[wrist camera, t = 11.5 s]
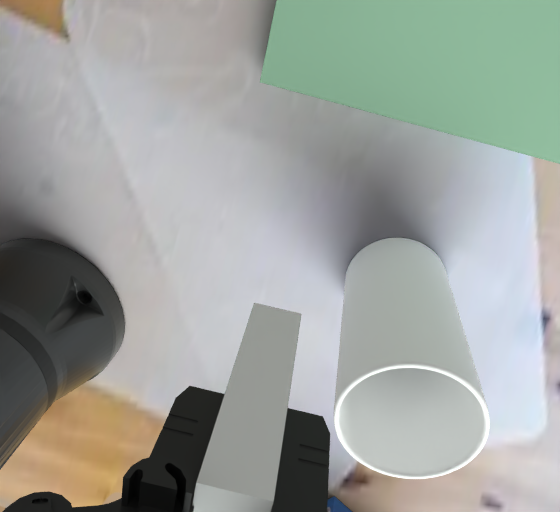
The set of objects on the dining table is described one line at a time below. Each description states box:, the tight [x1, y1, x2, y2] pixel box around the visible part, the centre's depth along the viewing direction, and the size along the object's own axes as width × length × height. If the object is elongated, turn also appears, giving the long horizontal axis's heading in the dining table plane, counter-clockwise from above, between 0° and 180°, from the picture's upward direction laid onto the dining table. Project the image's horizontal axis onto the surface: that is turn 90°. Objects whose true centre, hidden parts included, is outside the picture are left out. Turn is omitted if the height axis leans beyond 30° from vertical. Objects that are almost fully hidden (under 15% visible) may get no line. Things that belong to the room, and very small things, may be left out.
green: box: [260, 0, 560, 164], centre depth 30 cm, size 30×12×4 cm, turn 77°
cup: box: [334, 238, 490, 479], centre depth 34 cm, size 8×8×16 cm
